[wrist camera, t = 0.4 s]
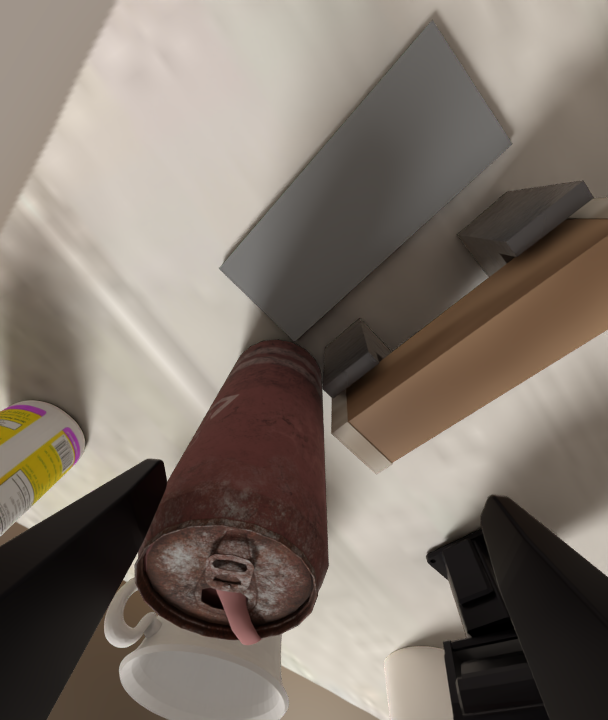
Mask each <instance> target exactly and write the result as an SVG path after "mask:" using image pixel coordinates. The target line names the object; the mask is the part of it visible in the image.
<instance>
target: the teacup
mask: <svg viewBox="0 0 608 720" xmlns="http://www.w3.org/2000/svg"><path fill="white" fill-rule="evenodd" d="M137 590H138V588H137V586H136V584H135V577H134V578H132V579H130V580H129V581H128V582H127V583H126V584H125V585H123V586H122V587H121V588H120V590H119V591H118V592H117V593H116V595H115V596H114V598H113V600H112V602H111V604H110V605H109V608H108V610H107V613H106V617H105V622H104V632H105V636H106V638H107V640H108V641H109V642H110V643H111V644H112V645H114V646H116V647H121V648H124V647H128V646H130V645H132V644H134V643H135V642H136V641H137V640H138V639H139V638H140V637H141V636H142V635H143V633H144V635H145V637H146V638H145V639H144V641H143V642H142V643H141V644H140V646H139V647H138V648H137V649H136V650H135V651H133V652H132V653H130V654H129V655H127V656H126V657H125V658H124V659H123V661H122V662H121V664H120V668H119V673H120V679H121V682H122V685H123V687H124V688H125V690H126V691H127V693H128V694H129V695H130V696H131V697H132V698H133V699H134V700H135V701H137V702H138V703H139V704H140V705H142V706H143V707H145V708H146V709H148V710H150V711H152V712H153V713H155V714H157V715H159V716H162V717H164V718H166V719H169V720H280V719H281V717H282V716H283V715H284V714H285V712H286V711H287V709H288V706H289V699H288V695H287V693H286V691H285V689H284V687H283V684H282V678H281V636H282V634H280V635H277V636H273V637H268V638H263V639H262V640H260V641H259V642H257V643H255V644H252V645H243V644H242V643H241V642H240V640H238V641H229V640H223V639H217V638H210V637H204V636H202V635H199V634H196V633H193V632H190V631H187V630H184V629H181V628H179V627H178V626H176V625H174V624H172V623H171V622H169V621H167V620H166V619H164V618H162V617H160V616H159V615H158V617H157V616H156V614H155V613H154V612H151V613H148V614H147V615H145V616H144V617H143V618H142V619H141V621H140V622H139V623H138V625H137V626H136V627H135V628H131V627H129V626H127V625H126V623H125V622H124V619H123V611H124V607H125V604H126V602H127V600H128V598H129V597H130V596H131V594H133V593H134V592H135V591H137Z"/></svg>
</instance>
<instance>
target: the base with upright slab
mask: <svg viewBox="0 0 608 720" xmlns="http://www.w3.org/2000/svg"><path fill="white" fill-rule="evenodd" d="M444 654H445V651H444V649H441V648H436V647H430V646H414V647H406V648H403V649H399V650H397V651H395V652H393V653H391V654H390V655H389V656H388V657H386V659H385V661H384V670H385V679H386V688H387V697H388V706H389V715H390V720H453V712H452V705H451V699H450V692H449V686H448V679H447V673H446V666H445V660H444Z"/></svg>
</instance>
